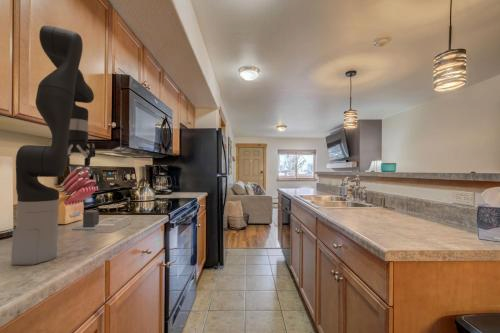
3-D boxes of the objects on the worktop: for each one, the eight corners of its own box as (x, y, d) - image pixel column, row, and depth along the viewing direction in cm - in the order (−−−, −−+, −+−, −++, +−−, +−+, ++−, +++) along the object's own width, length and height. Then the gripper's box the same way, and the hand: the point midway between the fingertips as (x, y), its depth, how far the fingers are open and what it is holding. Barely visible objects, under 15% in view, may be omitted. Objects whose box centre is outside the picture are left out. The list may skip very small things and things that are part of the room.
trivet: (95, 230, 106) (95, 228, 106) (72, 230, 105) (72, 228, 106) (107, 225, 116) (107, 224, 116) (86, 225, 115) (86, 223, 115)
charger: (93, 227, 109) (93, 211, 109) (82, 227, 108) (83, 211, 109) (98, 225, 113) (99, 210, 113) (88, 225, 113) (89, 210, 113)
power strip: (112, 232, 103) (112, 223, 103) (94, 232, 102) (95, 222, 102) (130, 223, 121) (131, 215, 121) (116, 223, 120) (116, 215, 120)
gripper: (55, 128, 105) (54, 165, 104) (89, 129, 105) (88, 166, 105) (67, 131, 112) (66, 166, 112) (99, 132, 113) (98, 166, 112)
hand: (76, 166), depth 108 cm, fingers open, 8 cm apart
